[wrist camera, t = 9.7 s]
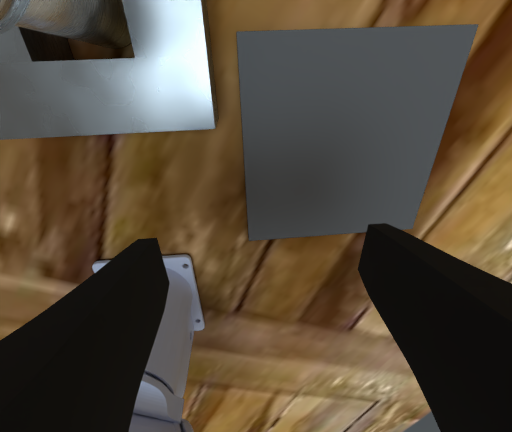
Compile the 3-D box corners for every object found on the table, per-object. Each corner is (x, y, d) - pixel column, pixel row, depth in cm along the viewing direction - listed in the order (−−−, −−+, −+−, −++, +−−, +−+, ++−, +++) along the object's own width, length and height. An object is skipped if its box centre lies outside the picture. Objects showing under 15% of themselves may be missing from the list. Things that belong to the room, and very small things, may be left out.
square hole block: (218, 118, 16) (215, 128, 13) (42, 127, 16) (-5, 139, 13) (190, -152, 11) (174, -242, 8) (-82, -154, 10) (-216, -253, 7)
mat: (409, 226, 22) (412, 228, 21) (248, 238, 21) (248, 240, 21) (472, 25, 15) (478, 24, 14) (236, 32, 14) (236, 31, 14)
